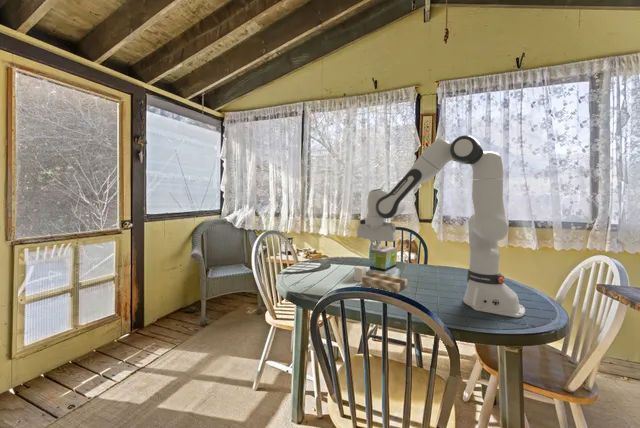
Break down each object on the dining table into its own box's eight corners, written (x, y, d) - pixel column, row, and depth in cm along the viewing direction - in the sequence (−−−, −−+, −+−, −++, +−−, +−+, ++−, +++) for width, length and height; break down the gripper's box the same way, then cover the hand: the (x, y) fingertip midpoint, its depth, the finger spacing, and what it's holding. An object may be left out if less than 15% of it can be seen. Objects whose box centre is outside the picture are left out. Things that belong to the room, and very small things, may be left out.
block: (365, 280, 159) (366, 267, 158) (361, 282, 156) (361, 269, 155) (358, 278, 162) (358, 265, 161) (354, 280, 158) (354, 267, 158)
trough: (407, 287, 148) (407, 279, 148) (397, 293, 140) (397, 285, 139) (373, 279, 160) (373, 272, 160) (361, 284, 151) (362, 276, 151)
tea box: (385, 278, 162) (386, 251, 161) (368, 275, 168) (369, 249, 167) (396, 272, 174) (397, 247, 173) (380, 269, 180) (381, 245, 179)
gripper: (398, 222, 146) (397, 250, 148) (362, 219, 159) (361, 245, 160) (392, 223, 141) (392, 252, 143) (355, 220, 154) (355, 247, 156)
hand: (375, 248), depth 152 cm, fingers closed
